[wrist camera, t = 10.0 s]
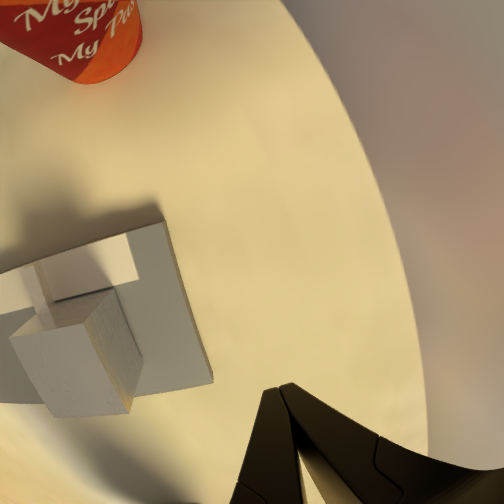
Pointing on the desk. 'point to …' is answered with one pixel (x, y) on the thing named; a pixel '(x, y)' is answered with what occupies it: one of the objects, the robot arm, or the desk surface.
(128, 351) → the grey faceted block
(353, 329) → the desk surface
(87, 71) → the paper cup
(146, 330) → the gauge board
